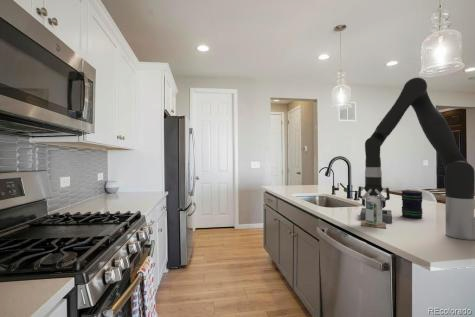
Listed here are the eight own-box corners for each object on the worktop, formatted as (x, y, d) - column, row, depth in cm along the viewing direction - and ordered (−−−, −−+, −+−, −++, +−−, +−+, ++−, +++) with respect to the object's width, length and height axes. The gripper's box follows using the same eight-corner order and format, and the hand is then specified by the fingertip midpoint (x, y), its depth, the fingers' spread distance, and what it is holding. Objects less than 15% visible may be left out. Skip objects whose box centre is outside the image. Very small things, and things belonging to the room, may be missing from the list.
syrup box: (365, 222, 126) (364, 195, 126) (372, 221, 129) (372, 194, 129) (375, 225, 121) (375, 196, 121) (382, 224, 123) (382, 196, 123)
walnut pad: (385, 223, 127) (385, 222, 127) (386, 228, 117) (386, 227, 117) (362, 220, 132) (362, 219, 132) (360, 225, 123) (360, 224, 123)
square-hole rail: (391, 217, 140) (390, 210, 140) (392, 223, 127) (392, 215, 127) (362, 214, 147) (362, 207, 147) (360, 219, 135) (360, 212, 135)
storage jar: (415, 215, 144) (415, 190, 144) (426, 219, 135) (426, 192, 135) (398, 214, 145) (397, 190, 145) (407, 219, 136) (407, 192, 136)
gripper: (357, 176, 125) (357, 207, 125) (389, 176, 118) (390, 209, 118) (358, 175, 132) (358, 204, 132) (389, 175, 124) (389, 207, 124)
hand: (373, 207), depth 125 cm, fingers open, 8 cm apart
